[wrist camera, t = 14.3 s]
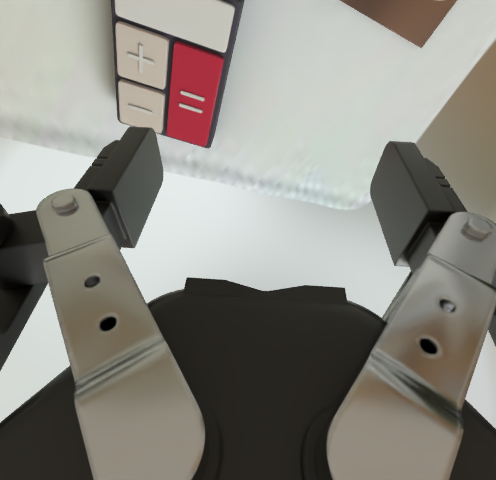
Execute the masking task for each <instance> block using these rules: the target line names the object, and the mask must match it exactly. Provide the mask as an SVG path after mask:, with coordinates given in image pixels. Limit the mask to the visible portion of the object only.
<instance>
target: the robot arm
mask: <svg viewBox="0 0 496 480" xmlns="http://www.w3.org/2000/svg"><path fill="white" fill-rule="evenodd" d="M162 181H163V166H162V161H161V156H160V152H159V147H158V142H157V137H156V133H155V131H154V129H153V128H150V127H129V128H128V129H127V131H126V132H125V134H124V135H123V137H122V138H121V139H120V140H115V141H114V142H112V143H111V144H109V145H107V146H106V147H104V148H103V150H102V151H101V152H100V154H99V155H98V156H97V159H95V160H94V162H93V163H92V166H90V167H89V169H88V170H87V171H86V173H85V174H84V175H83V177H82V178H81V179H80V181H79V182H78V183H77V185H76V186H75V187H74V189H65V190H61V191H58V192H55V193H53V194H51V195H49V196H47V197H46V198H44V199H43V200H42V201H41V202H40V203H39V205H38V207H37V209H36V210H35V211H28V212H22V213H15V214H8V213H7V212H6V210H5V209H4V208H3V207H2V205H1V204H0V370H1V369H2V367H3V365H4V363H5V361H6V359H7V358H8V356H9V354H10V352H11V350H12V348H13V346H14V345H15V343H16V341H17V339H18V337H19V335H20V334H21V331H22V330H23V328H24V326H25V324H26V323H27V321H28V319H29V317H30V315H31V313H32V311H33V310H34V308H35V306H36V304H37V302H38V301H39V299H40V297H41V295H42V293H43V291H44V289H45V288H46V286H47V284H48V283H49V287H50V291H51V294H52V298H53V302H54V306H55V309H56V312H57V317H58V321H59V324H60V328H61V332H62V335H63V339H64V343H65V346H66V350H67V354H68V358H69V361H70V366H69V367H68V368H66V370H64V371H63V372H62V373H60V374H59V375H58V376H57V377H56V378H54V379H53V380H52V381H51V382H49V383H48V384H47V385H46V386H45V387H44V388H42V389H41V390H40V391H39V392H37V393H36V394H35V395H34V396H32V397H31V398H30V399H29V400H27V401H26V402H25V403H24V404H22V405H21V406H20V407H19V408H18V409H16V410H15V411H14V412H13V413H11V414H10V415H9V416H8V417H7V418H5V419H4V420H3V421H2V422H1V423H0V480H496V429H495V428H494V427H493V426H492V425H491V424H490V423H489V422H488V421H487V420H486V419H485V418H484V417H483V416H482V415H481V414H480V413H479V412H477V410H476V409H475V408H473V406H472V405H470V403H468V402H467V401H466V400H465V397H466V394H467V391H468V388H469V385H470V382H471V379H472V376H473V373H474V370H475V367H476V364H477V361H478V358H479V355H480V352H481V349H482V346H483V342H484V340H485V337H486V334H487V331H488V330H489V333H490V335H491V337H492V339H493V341H494V343H495V346H496V224H495V223H494V222H493V221H491V220H489V219H488V218H486V217H483V216H481V215H478V214H474V213H470V212H467V210H466V209H465V207H464V206H463V204H462V203H461V201H460V200H459V198H458V196H457V195H456V193H455V192H454V190H453V189H452V188H450V184H449V183H448V181H447V180H446V179H445V176H444V175H443V173H442V172H441V171H440V169H439V167H437V166H436V165H435V164H434V163H432V162H431V161H430V160H428V159H427V158H423V156H422V155H421V153H420V151H419V150H418V148H417V146H416V145H415V143H412V142H395V141H390V142H388V144H387V145H386V147H385V149H384V151H383V154H382V156H381V159H380V161H379V164H378V166H377V169H376V171H375V174H374V176H373V179H372V182H371V188H370V194H371V199H372V201H373V204H374V207H375V210H376V213H377V216H378V219H379V222H380V225H381V228H382V231H383V234H384V236H385V239H386V242H387V245H388V248H389V251H390V254H391V257H392V260H393V263H394V265H395V266H407V267H410V269H411V272H410V273H409V275H408V276H407V278H406V279H405V281H404V283H403V284H402V286H401V288H400V289H399V291H398V292H397V294H396V296H395V297H394V299H393V301H392V303H391V304H390V306H389V307H388V309H387V310H386V312H385V314H384V315H383V317H382V318H381V317H379V316H378V315H376V314H375V313H373V312H372V311H370V310H368V309H366V308H365V307H363V306H360V305H358V304H356V303H353V302H351V301H348V300H347V298H346V293H345V288H338V287H323V286H307V285H304V286H298V287H292V288H286V289H279V290H274V291H261V290H257V289H254V288H251V287H247V286H244V285H240V284H237V283H234V282H230V281H227V280H216V279H202V278H187V280H186V284H185V288H184V289H183V290H177V291H174V292H170V293H167V294H165V295H162V296H160V297H158V298H156V299H154V300H152V301H150V302H149V303H147V304H146V302H145V300H144V298H143V296H142V294H141V292H140V290H139V288H138V286H137V284H136V282H135V280H134V278H133V276H132V274H131V272H130V270H129V268H128V266H127V264H126V262H125V260H124V258H123V256H122V254H121V252H120V249H121V247H124V248H126V247H127V248H135V246H136V244H137V241H138V239H139V237H140V234H141V232H142V229H143V227H144V225H145V223H146V220H147V218H148V215H149V213H150V211H151V208H152V206H153V204H154V201H155V199H156V197H157V194H158V192H159V189H160V187H161V185H162Z"/></svg>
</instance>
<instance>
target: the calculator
mask: <svg viewBox="0 0 496 480" xmlns="http://www.w3.org/2000/svg"><path fill="white" fill-rule="evenodd" d="M243 4H244V0H111V7H112V25H113V44H114V62H115V80H116V99H117V117H118V120H119V122H121V123H124V124H127V125H130V126H134V127H150V128H153V129H154V131H155V133H157V134H161V135H164V136H168V137H171V138H174V139H178V140H181V141H184V142H188V143H191V144H194V145H198V146H201V147H205V148H210V147H211V144H212V141H213V138H214V134H215V130H216V126H217V121H218V116H219V112H220V107H221V103H222V98H223V94H224V89H225V84H226V80H227V75H228V71H229V66H230V62H231V57H232V53H233V48H234V44H235V40H236V35H237V31H238V26H239V22H240V17H241V13H242V8H243Z"/></svg>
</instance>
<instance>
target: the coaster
mask: <svg viewBox="0 0 496 480" xmlns="http://www.w3.org/2000/svg"><path fill="white" fill-rule="evenodd" d="M340 1H342V2H344V3H345V4H347V5H349V6H351V7H352V8H354V9H356V10H357V11H359V12H361V13H362V14H364V15H366V16H368V17H369V18H371V19H373V20H374V21H376V22H378V23H379V24H381V25H383V26H385V27H386V28H388V29H390V30H391V31H393V32H395V33H396V34H398V35H400V36H402V37H403V38H405V39H407V40H408V41H410V42H412V43H413V44H415V45H417V46H419V47H420V48H422V47H423V45H424V44H425V43H426V41H427V40H428V39H429V37H430V36H431V35H432V33H433V32H434V31H435V29H436V28H437V27H438V25H439V24H440V22H441V21H442V20H443V18H444V17H445V16H446V14H447V13H448V12H449V10H450V9H451V8H452V6H453V5H454V4H455V2H456V1H457V0H340Z"/></svg>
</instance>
